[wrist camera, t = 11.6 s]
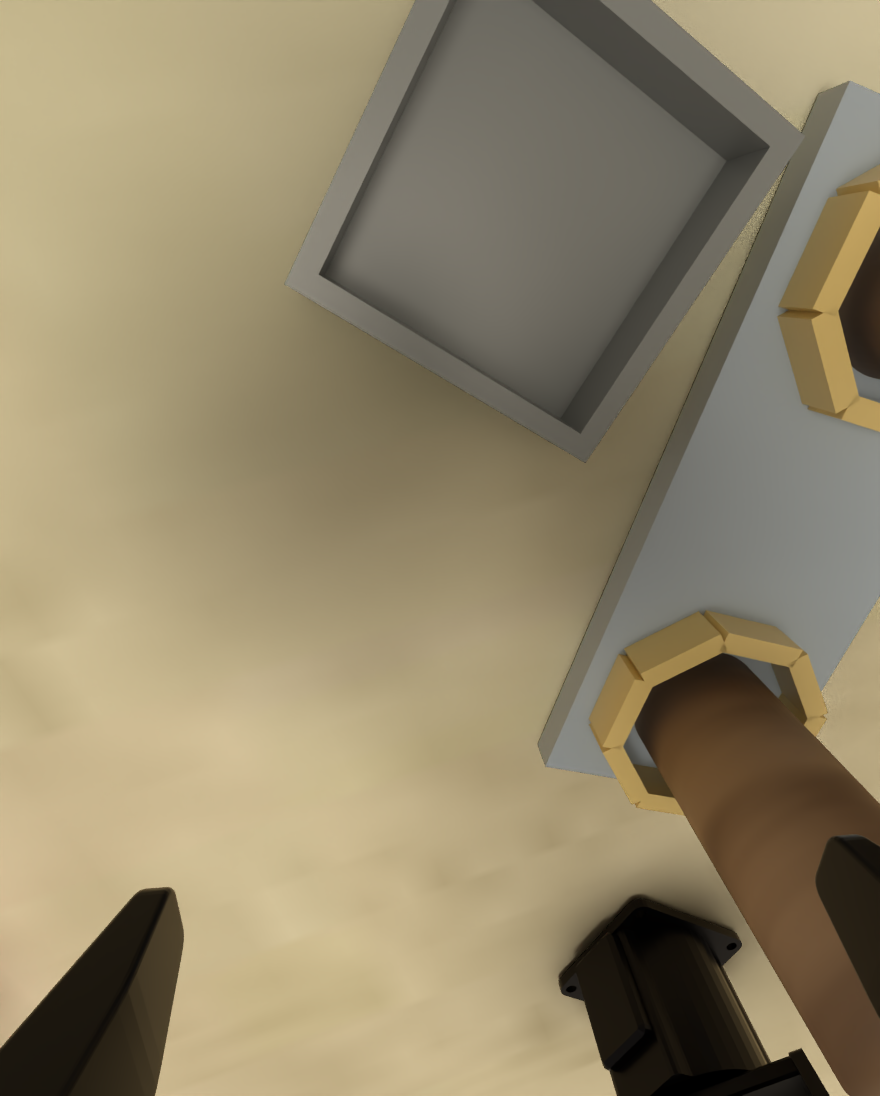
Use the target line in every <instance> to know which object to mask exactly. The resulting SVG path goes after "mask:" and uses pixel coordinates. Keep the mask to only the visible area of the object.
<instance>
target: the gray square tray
mask: <svg viewBox="0 0 880 1096" xmlns="http://www.w3.org/2000/svg"><path fill="white" fill-rule="evenodd" d="M804 138H805V136H804V135H803V134H802V133H801V132H800V131H799V130H798V129H796V128H795V127H794V126H793V125H792V124H791V123H790V122H788V121H787V120H786V119H785V118H784V117H783V116H782V115H781V114H779V113H778V112H777V111H776V110H775V109H774V108H773V107H771V106H770V105H769V104H768V103H767V102H766V101H765V100H763V99H762V98H761V97H760V96H759V95H758V94H757V93H756V92H754V91H753V90H752V89H751V88H750V87H749V86H748V85H746V84H745V83H744V82H743V81H742V80H741V79H740V78H739V77H737V76H736V75H735V74H734V73H733V72H732V71H731V70H729V69H728V68H727V67H726V66H725V65H724V64H723V63H721V62H720V61H719V60H718V59H717V58H716V57H715V56H714V55H712V54H711V53H710V52H709V51H708V50H707V49H706V48H704V47H703V46H702V45H701V44H700V43H699V42H698V41H696V40H695V39H694V38H693V37H692V36H691V35H690V34H689V33H687V32H686V31H685V30H684V29H683V28H682V27H681V26H679V25H678V24H677V23H676V22H675V21H674V20H673V19H672V18H670V17H669V16H668V15H667V14H666V13H665V12H664V11H662V10H661V9H660V8H659V7H658V6H657V5H656V4H654V3H653V2H652V1H651V0H415V3H414V5H413V7H412V9H411V11H410V13H409V15H408V18H407V20H406V22H405V24H404V26H403V28H402V31H401V33H400V35H399V37H398V39H397V41H396V44H395V46H394V48H393V50H392V52H391V54H390V57H389V59H388V61H387V63H386V65H385V67H384V70H383V72H382V74H381V76H380V78H379V80H378V82H377V85H376V87H375V89H374V91H373V93H372V95H371V98H370V100H369V102H368V104H367V106H366V108H365V111H364V113H363V115H362V117H361V119H360V121H359V124H358V126H357V128H356V130H355V132H354V134H353V137H352V139H351V141H350V143H349V145H348V147H347V150H346V152H345V154H344V156H343V158H342V160H341V162H340V165H339V167H338V169H337V171H336V173H335V175H334V178H333V180H332V182H331V184H330V186H329V188H328V191H327V193H326V195H325V197H324V199H323V201H322V204H321V206H320V208H319V210H318V212H317V214H316V217H315V219H314V221H313V223H312V225H311V227H310V230H309V232H308V234H307V236H306V238H305V240H304V242H303V245H302V247H301V249H300V251H299V253H298V255H297V258H296V260H295V262H294V264H293V266H292V268H291V271H290V273H289V275H288V277H287V279H286V281H285V285H286V286H288V287H290V288H291V289H293V290H295V291H296V292H298V293H300V294H301V295H303V296H305V297H306V298H308V299H310V300H312V301H313V302H315V303H317V304H318V305H320V306H322V307H323V308H325V309H327V310H328V311H330V312H332V313H333V314H335V315H337V316H338V317H340V318H342V319H344V320H345V321H347V322H349V323H350V324H352V325H354V326H355V327H357V328H359V329H360V330H362V331H364V332H365V333H367V334H369V335H370V336H372V337H374V338H376V339H377V340H379V341H381V342H382V343H384V344H386V345H387V346H389V347H391V348H392V349H394V350H396V351H397V352H399V353H401V354H402V355H404V356H406V357H408V358H409V359H411V360H413V361H414V362H416V363H418V364H419V365H421V366H423V367H424V368H426V369H428V370H429V371H431V372H433V373H434V374H436V375H438V376H440V377H441V378H443V379H445V380H446V381H448V382H450V383H451V384H453V385H455V386H456V387H458V388H460V389H461V390H463V391H465V392H466V393H468V394H470V395H472V396H473V397H475V398H477V399H478V400H480V401H482V402H483V403H485V404H487V405H488V406H490V407H492V408H493V409H495V410H497V411H498V412H500V413H502V414H504V415H505V416H507V417H509V418H510V419H512V420H514V421H515V422H517V423H519V424H520V425H522V426H524V427H525V428H527V429H529V430H530V431H532V432H534V433H536V434H537V435H539V436H541V437H542V438H544V439H546V440H547V441H549V442H551V443H552V444H554V445H556V446H557V447H559V448H561V449H562V450H564V451H566V452H568V453H569V454H571V455H573V456H574V457H576V458H578V459H579V460H581V461H583V462H584V463H586V461H587V460H588V458H589V457H590V455H591V454H592V453H593V451H594V450H595V448H596V447H597V445H598V444H599V442H600V441H601V439H602V438H603V436H604V435H605V433H606V432H607V430H608V429H609V427H610V426H611V424H612V423H613V421H614V420H615V418H616V417H617V415H618V414H619V412H620V411H621V410H622V408H623V407H624V405H625V404H626V402H627V401H628V399H629V398H630V396H631V395H632V393H633V392H634V390H635V389H636V387H637V386H638V384H639V383H640V381H641V380H642V378H643V377H644V375H645V374H646V372H647V371H648V369H649V368H650V366H651V365H652V364H653V362H654V361H655V359H656V358H657V356H658V355H659V353H660V352H661V350H662V349H663V347H664V346H665V344H666V343H667V341H668V340H669V338H670V337H671V335H672V334H673V332H674V331H675V329H676V328H677V326H678V325H679V323H680V322H681V321H682V319H683V318H684V316H685V315H686V313H687V312H688V310H689V309H690V307H691V306H692V304H693V303H694V301H695V300H696V298H697V297H698V295H699V294H700V292H701V291H702V289H703V288H704V286H705V285H706V283H707V282H708V280H709V279H710V277H711V276H712V275H713V273H714V272H715V270H716V269H717V267H718V266H719V264H720V263H721V261H722V260H723V258H724V257H725V255H726V254H727V252H728V251H729V249H730V248H731V246H732V245H733V243H734V242H735V240H736V239H737V237H738V236H739V234H740V233H741V231H742V230H743V229H744V227H745V226H746V224H747V223H748V221H749V220H750V218H751V217H752V215H753V214H754V212H755V211H756V209H757V208H758V206H759V205H760V203H761V202H762V200H763V199H764V197H765V196H766V194H767V193H768V191H769V190H770V188H771V187H772V186H773V184H774V183H775V181H776V180H777V178H778V177H779V175H780V174H781V172H782V171H783V169H784V168H785V166H786V165H787V163H788V162H789V160H790V159H791V157H792V156H793V154H794V153H795V151H796V150H797V148H798V147H799V145H800V144H801V142H802V141H803V140H804Z"/></svg>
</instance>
